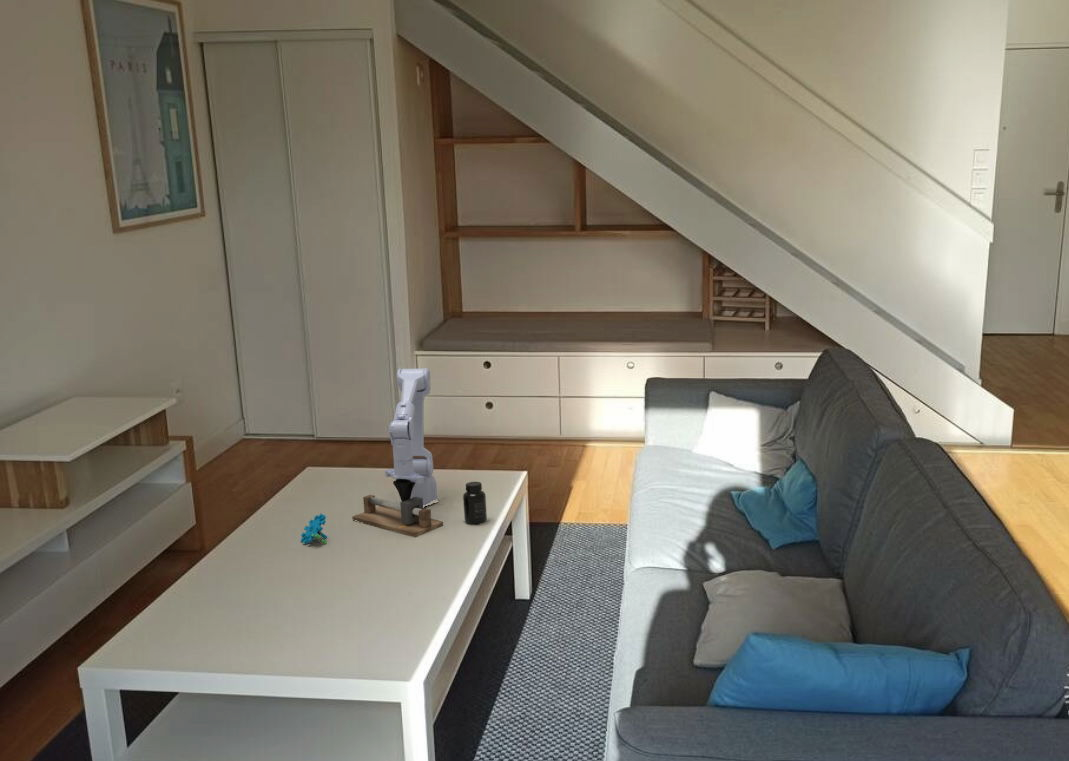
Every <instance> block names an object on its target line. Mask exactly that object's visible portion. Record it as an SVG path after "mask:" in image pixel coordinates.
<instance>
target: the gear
mask: <svg viewBox="0 0 1069 761" xmlns="http://www.w3.org/2000/svg"><path fill="white" fill-rule="evenodd" d="M326 518H327V516H326V515H325V514H323V513H319V515H314V517H313V519H312V518H311V519H310V520H308V523H309V524H308V525H305V526H304V528H303V530H304V531H305V532H304V531H303V532H302V533H301V535H300V536H301V538H300V542H302V543H304V545H307V544H308V543H311V542H313V539H316V541H317V542H321V543H323V544H324V545H327V544H328V542H327V541H326V539H327V538H328V535H326V534H325V533H324V532H322V531H323V529H324V528H323V526H324V525H325V524H326Z"/></svg>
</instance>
